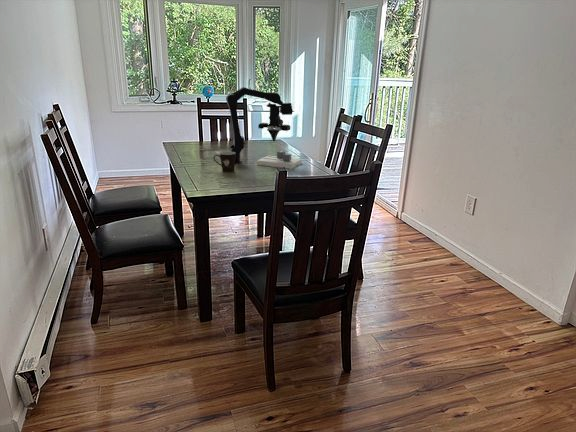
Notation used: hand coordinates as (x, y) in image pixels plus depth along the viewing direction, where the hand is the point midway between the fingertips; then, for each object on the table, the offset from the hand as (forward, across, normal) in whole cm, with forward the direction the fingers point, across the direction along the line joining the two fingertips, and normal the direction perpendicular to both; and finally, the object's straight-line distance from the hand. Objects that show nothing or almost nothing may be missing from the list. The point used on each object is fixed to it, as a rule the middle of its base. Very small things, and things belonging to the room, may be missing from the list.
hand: (274, 141), depth 259 cm
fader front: (+10, -11, +6) cm, 16 cm away
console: (+12, -6, +5) cm, 15 cm away
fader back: (+10, -5, 0) cm, 11 cm away
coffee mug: (+13, +14, +34) cm, 39 cm away
